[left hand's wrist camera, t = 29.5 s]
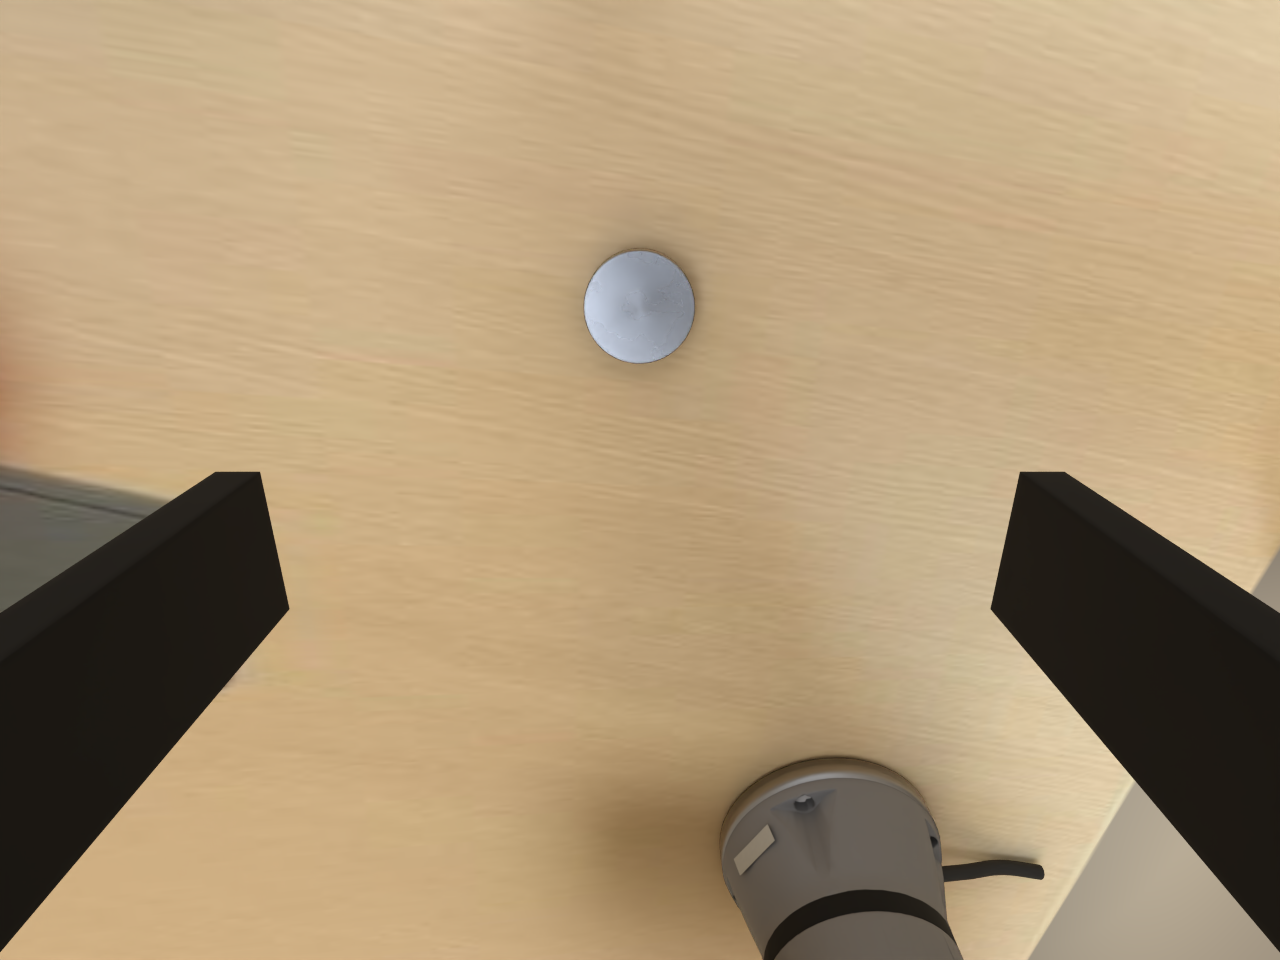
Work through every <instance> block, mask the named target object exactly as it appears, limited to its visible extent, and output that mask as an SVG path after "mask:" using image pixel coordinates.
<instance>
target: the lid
mask: <svg viewBox="0 0 1280 960" xmlns="http://www.w3.org/2000/svg"><path fill="white" fill-rule="evenodd" d="M694 314H695V301H694V295H693V291H692V288H691V285H690V283H689V281H688V279H687V277H686V275H685V274H684V272H683V271H682V269H681V268H680V267H679V266H678V265H677V264H676V263H675V262H674V261H673V260H672V259H671V258H669V257H668V256H666V255H664V254H662V253H660V252H658V251H654V250H651V249H644V248H634V249H628V250H624V251H621V252H619V253H616V254H614V255H613V256H611V257H609V258H608V259H607V260H606V261H604V262H603V263H602V264H601V265H600V266H599V268H598V269H597V270H596V272H595V273H594V275H593V276H592V278H591V280H590V282H589V284H588V287H587V289H586V293H585V297H584V316H585V321H586V324H587V327H588V330H589V332H590V334H591V336H592V337H593V339H594V340H595V342H596V343H597V344H598V345H599V346H600V347H601V348H602V349H603V350H604V351H605V352H606V353H608V354H609V355H611V356H613V357H614V358H616V359H619V360H621V361H625V362H628V363H636V364H643V363H650V362H654V361H657V360H660V359H662V358H664V357H666V356H668V355H670V354H671V353H672V352H674V351H675V350H676V349H677V348H678V347H679V346H680V345H681V344H682V343H683V341H684V340H685V338H686V337H687V335H688V333H689V331H690V329H691V327H692V323H693V320H694Z"/></svg>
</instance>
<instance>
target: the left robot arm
mask: <svg viewBox="0 0 1280 960" xmlns="http://www.w3.org/2000/svg"><path fill="white" fill-rule="evenodd" d="M288 610H289V605H288V600H287V595H286V591H285V586H284V581H283V577H282V572H281V567H280V563H279V558H278V553H277V549H276V544H275V540H274V535H273V530H272V526H271V521H270V516H269V512H268V507H267V502H266V498H265V493H264V488H263V484H262V479H261V474H260V472H215V473H213V474H212V475H210V476H208V477H207V478H205V479H204V480H202V481H201V482H199V483H198V484H196V485H195V486H193V487H192V488H190V489H189V490H187V491H186V492H184V493H183V494H181V495H180V496H178V497H177V498H175V499H173V500H172V501H170V502H169V503H167V504H166V505H164V506H163V507H161V508H160V509H158V510H157V511H155V512H154V513H152V514H151V515H149V516H148V517H146V518H145V519H143V520H141V521H140V522H138V523H137V524H135V525H134V526H132V527H131V528H129V529H128V530H126V531H125V532H123V533H122V534H120V535H119V536H117V537H116V538H114V539H113V540H111V541H110V542H108V543H106V544H105V545H103V546H102V547H100V548H99V549H97V550H96V551H94V552H93V553H91V554H90V555H88V556H87V557H85V558H84V559H82V560H81V561H79V562H78V563H76V564H74V565H73V566H71V567H70V568H68V569H67V570H65V571H64V572H62V573H61V574H59V575H58V576H56V577H55V578H53V579H52V580H50V581H49V582H47V583H46V584H44V585H43V586H41V587H39V588H38V589H36V590H35V591H33V592H32V593H30V594H29V595H27V596H26V597H24V598H23V599H21V600H20V601H18V602H17V603H15V604H14V605H12V606H11V607H9V608H7V609H6V610H4V611H3V612H1V613H0V952H1V951H2V949H3V948H4V947H5V946H6V945H7V944H8V942H9V941H10V940H11V939H12V938H13V936H14V935H15V934H16V933H17V932H18V931H19V929H20V928H21V927H22V926H23V925H24V923H25V922H26V921H27V920H28V919H29V917H30V916H31V915H32V914H33V913H34V912H35V910H36V909H37V908H38V907H39V906H40V904H41V903H42V902H43V901H44V900H45V898H46V897H47V896H48V895H49V894H50V893H51V891H52V890H53V889H54V888H55V887H56V885H57V884H58V883H59V882H60V881H61V879H62V878H63V877H64V876H65V875H66V874H67V872H68V871H69V870H70V869H71V868H72V866H73V865H74V864H75V863H76V862H77V861H78V859H79V858H80V857H81V856H82V855H83V853H84V852H85V851H86V850H87V849H88V847H89V846H90V845H91V844H92V843H93V842H94V840H95V839H96V838H97V837H98V836H99V834H100V833H101V832H102V831H103V830H104V828H105V827H106V826H107V825H108V824H109V823H110V821H111V820H112V819H113V818H114V817H115V815H116V814H117V813H118V812H119V811H120V809H121V808H122V807H123V806H124V805H125V804H126V802H127V801H128V800H129V799H130V798H131V796H132V795H133V794H134V793H135V792H136V791H137V789H138V788H139V787H140V786H141V785H142V783H143V782H144V781H145V780H146V779H147V777H148V776H149V775H150V774H151V773H152V772H153V770H154V769H155V768H156V767H157V766H158V764H159V763H160V762H161V761H162V760H163V758H164V757H165V756H166V755H167V754H168V753H169V751H170V750H171V749H172V748H173V747H174V745H175V744H176V743H177V742H178V741H179V739H180V738H181V737H182V736H183V735H184V734H185V732H186V731H187V730H188V729H189V728H190V726H191V725H192V724H193V723H194V722H195V721H196V719H197V718H198V717H199V716H200V715H201V713H202V712H203V711H204V710H205V709H206V707H207V706H208V705H209V704H210V703H211V702H212V700H213V699H214V698H215V697H216V696H217V694H218V693H219V692H220V691H221V690H222V688H223V687H224V686H225V685H226V684H227V683H228V681H229V680H230V679H231V678H232V677H233V675H234V674H235V673H236V672H237V671H238V669H239V668H240V667H241V666H242V665H243V664H244V662H245V661H246V660H247V659H248V658H249V656H250V655H251V654H252V653H253V652H254V651H255V649H256V648H257V647H258V646H259V645H260V643H261V642H262V641H263V640H264V639H265V637H266V636H267V635H268V634H269V633H270V632H271V630H272V629H273V628H274V627H275V626H276V624H277V623H278V622H279V621H280V620H281V618H282V617H283V616H284V615H285V614H286V613H287V611H288ZM991 610H992V611H993V613H994V614H995V615H996V616H997V617H998V618H999V620H1000V621H1001V622H1002V623H1003V624H1004V626H1005V627H1006V628H1007V629H1008V630H1009V632H1010V633H1011V634H1012V635H1013V636H1014V637H1015V639H1016V640H1017V641H1018V642H1019V643H1020V645H1021V646H1022V647H1023V648H1024V649H1025V651H1026V652H1027V653H1028V654H1029V655H1030V656H1031V658H1032V659H1033V660H1034V661H1035V662H1036V664H1037V665H1038V666H1039V667H1040V668H1041V669H1042V671H1043V672H1044V673H1045V674H1046V675H1047V677H1048V678H1049V679H1050V680H1051V681H1052V683H1053V684H1054V685H1055V686H1056V687H1057V688H1058V690H1059V691H1060V692H1061V693H1062V694H1063V696H1064V697H1065V698H1066V699H1067V700H1068V702H1069V703H1070V704H1071V705H1072V706H1073V707H1074V709H1075V710H1076V711H1077V712H1078V713H1079V715H1080V716H1081V717H1082V718H1083V719H1084V721H1085V722H1086V723H1087V724H1088V725H1089V726H1090V728H1091V729H1092V730H1093V731H1094V732H1095V734H1096V735H1097V736H1098V737H1099V738H1100V739H1101V741H1102V742H1103V743H1104V744H1105V745H1106V747H1107V748H1108V749H1109V750H1110V751H1111V753H1112V754H1113V755H1114V756H1115V757H1116V758H1117V760H1118V761H1119V762H1120V763H1121V764H1122V766H1123V767H1124V768H1125V769H1126V770H1127V772H1128V773H1129V774H1130V775H1131V776H1132V777H1133V779H1134V780H1135V781H1136V782H1137V783H1138V785H1139V786H1140V787H1141V788H1142V789H1143V790H1144V792H1145V793H1146V794H1147V795H1148V796H1149V798H1150V799H1151V800H1152V801H1153V802H1154V804H1155V805H1156V806H1157V807H1158V808H1159V809H1160V811H1161V812H1162V813H1163V814H1164V815H1165V817H1166V818H1167V819H1168V820H1169V821H1170V822H1171V824H1172V825H1173V826H1174V827H1175V828H1176V830H1177V831H1178V832H1179V833H1180V834H1181V836H1182V837H1183V838H1184V839H1185V840H1186V842H1187V843H1188V844H1189V845H1190V846H1191V847H1192V849H1193V850H1194V851H1195V852H1196V853H1197V855H1198V856H1199V857H1200V858H1201V859H1202V861H1203V862H1204V863H1205V864H1206V865H1207V866H1208V868H1209V869H1210V870H1211V871H1212V872H1213V874H1214V875H1215V876H1216V877H1217V878H1218V879H1219V881H1220V882H1221V883H1222V884H1223V885H1224V887H1225V888H1226V889H1227V890H1228V891H1229V892H1230V894H1231V895H1232V896H1233V897H1234V898H1235V900H1236V901H1237V902H1238V903H1239V904H1240V906H1241V907H1242V908H1243V909H1244V910H1245V912H1246V913H1247V914H1248V915H1249V916H1250V917H1251V919H1252V920H1253V921H1254V922H1255V923H1256V925H1257V926H1258V927H1259V928H1260V929H1261V930H1262V932H1263V933H1264V934H1265V935H1266V936H1267V938H1268V939H1269V940H1270V941H1271V942H1272V944H1273V945H1274V946H1275V947H1276V948H1277V949H1278V951H1279V952H1280V613H1279V612H1277V611H1275V610H1274V609H1273V608H1271V607H1269V606H1268V605H1266V604H1265V603H1263V602H1262V601H1260V600H1259V599H1257V598H1256V597H1254V596H1253V595H1251V594H1250V593H1248V592H1247V591H1245V590H1244V589H1242V588H1241V587H1239V586H1237V585H1236V584H1234V583H1233V582H1231V581H1230V580H1228V579H1227V578H1225V577H1224V576H1222V575H1221V574H1219V573H1218V572H1216V571H1215V570H1213V569H1212V568H1210V567H1209V566H1207V565H1206V564H1204V563H1202V562H1201V561H1199V560H1198V559H1196V558H1195V557H1193V556H1192V555H1190V554H1189V553H1187V552H1186V551H1184V550H1183V549H1181V548H1180V547H1178V546H1177V545H1175V544H1174V543H1172V542H1170V541H1169V540H1167V539H1166V538H1164V537H1163V536H1161V535H1160V534H1158V533H1157V532H1155V531H1154V530H1152V529H1151V528H1149V527H1148V526H1146V525H1145V524H1143V523H1142V522H1140V521H1139V520H1137V519H1135V518H1134V517H1132V516H1131V515H1129V514H1128V513H1126V512H1125V511H1123V510H1122V509H1120V508H1119V507H1117V506H1116V505H1114V504H1113V503H1111V502H1110V501H1108V500H1107V499H1105V498H1103V497H1102V496H1100V495H1099V494H1097V493H1096V492H1094V491H1093V490H1091V489H1090V488H1088V487H1087V486H1085V485H1084V484H1082V483H1081V482H1079V481H1078V480H1076V479H1075V478H1073V477H1072V476H1070V475H1068V474H1067V473H1065V472H1020V474H1019V479H1018V484H1017V488H1016V493H1015V498H1014V502H1013V507H1012V512H1011V516H1010V521H1009V526H1008V530H1007V535H1006V540H1005V544H1004V549H1003V553H1002V558H1001V563H1000V567H999V572H998V577H997V581H996V586H995V591H994V595H993V600H992V605H991ZM720 853H721V862H722V870H723V876H724V880H725V883H726V885H727V888H728V890H729V892H730V894H731V896H732V898H733V899H734V901H735V903H736V904H737V906H738V908H739V909H740V910H741V912H742V915H743V917H744V919H745V922H746V924H747V926H748V928H749V930H750V932H751V935H752V937H753V939H754V941H755V943H756V945H757V947H758V949H759V951H760V953H761V956H762V958H763V960H963V957H962V955H961V953H960V951H959V948H958V946H957V944H956V941H955V939H954V937H953V934H952V932H951V929H950V927H949V924H948V922H947V915H946V902H945V890H944V882H949V881H959V880H968V879H975V878H981V877H986V876H993V875H1013V876H1020V877H1027V878H1033V879H1039V880H1042V879H1043V878H1044V870H1043V868H1042V866H1040V865H1037V864H1030V863H1024V862H1018V861H1010V860H988V861H981V862H976V863H969V864H961V865H951V866H941V863H942V854H941V843H940V836H939V833H938V829H937V827H936V824H935V822H934V820H933V818H932V816H931V814H930V811H929V809H928V807H927V805H926V803H925V801H924V799H923V798H922V796H921V795H920V793H919V792H918V791H917V790H916V788H915V787H914V786H913V785H912V784H910V783H909V782H908V781H907V780H906V779H904V778H903V777H902V776H900V775H898V774H897V773H895V772H893V771H891V770H889V769H887V768H885V767H882V766H880V765H877V764H874V763H870V762H866V761H861V760H856V759H847V758H825V759H816V760H810V761H805V762H800V763H797V764H793V765H790V766H787V767H785V768H782V769H780V770H777V771H775V772H773V773H771V774H769V775H767V776H765V777H764V778H762V779H761V780H759V781H758V782H756V783H755V784H753V785H752V786H751V787H750V788H748V789H747V790H746V791H745V792H744V793H743V794H742V795H741V796H740V797H739V798H738V799H737V801H736V802H735V803H734V804H733V806H732V807H731V809H730V810H729V812H728V814H727V816H726V818H725V820H724V823H723V826H722V829H721V834H720Z"/></svg>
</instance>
